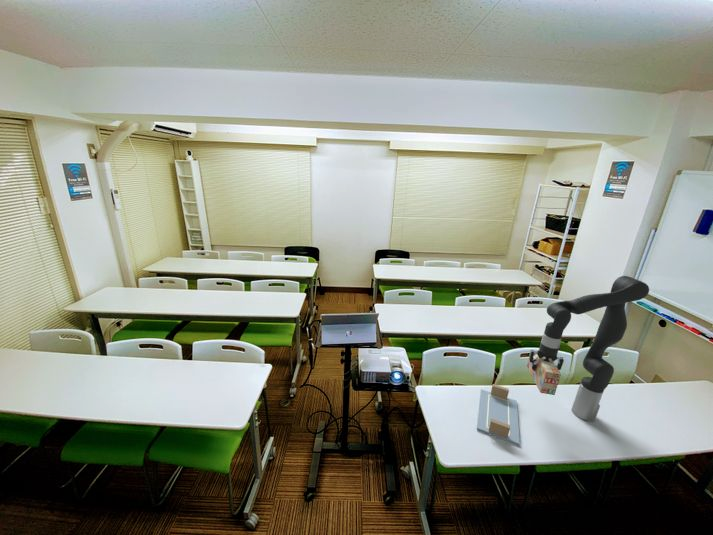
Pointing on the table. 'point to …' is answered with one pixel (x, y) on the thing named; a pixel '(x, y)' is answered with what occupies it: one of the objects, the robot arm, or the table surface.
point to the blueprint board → (498, 414)
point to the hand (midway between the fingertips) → (542, 372)
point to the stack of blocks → (545, 376)
